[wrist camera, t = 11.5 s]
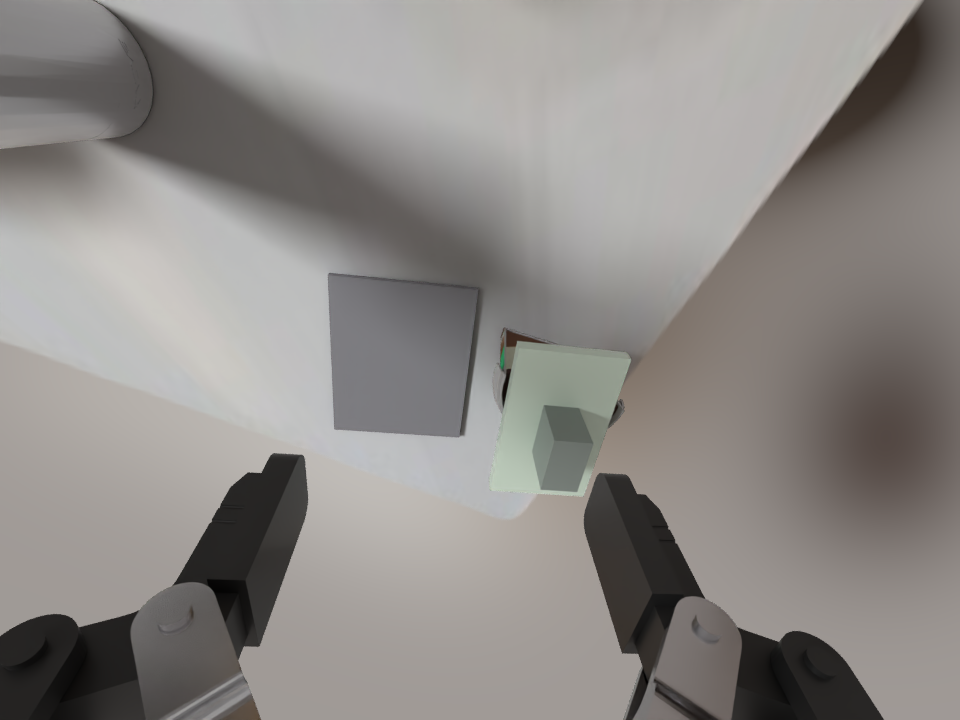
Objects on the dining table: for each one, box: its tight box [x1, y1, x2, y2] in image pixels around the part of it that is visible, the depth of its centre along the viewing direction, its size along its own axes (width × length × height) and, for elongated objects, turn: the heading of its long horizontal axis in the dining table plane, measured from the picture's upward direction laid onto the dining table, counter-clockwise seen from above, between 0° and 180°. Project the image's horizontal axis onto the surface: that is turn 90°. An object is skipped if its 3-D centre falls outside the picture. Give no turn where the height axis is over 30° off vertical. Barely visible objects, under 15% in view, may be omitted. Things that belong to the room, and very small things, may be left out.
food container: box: [493, 328, 625, 429], centre depth 44 cm, size 12×6×10 cm, turn 70°
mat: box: [328, 273, 478, 437], centre depth 47 cm, size 14×18×1 cm
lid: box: [489, 341, 632, 496], centre depth 37 cm, size 9×15×6 cm, turn 172°
